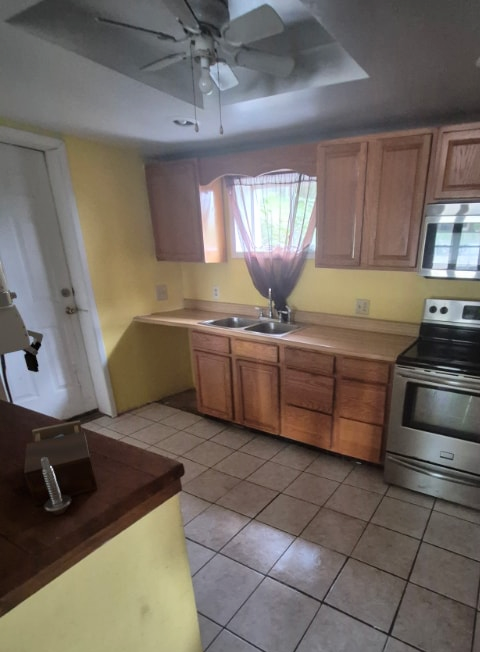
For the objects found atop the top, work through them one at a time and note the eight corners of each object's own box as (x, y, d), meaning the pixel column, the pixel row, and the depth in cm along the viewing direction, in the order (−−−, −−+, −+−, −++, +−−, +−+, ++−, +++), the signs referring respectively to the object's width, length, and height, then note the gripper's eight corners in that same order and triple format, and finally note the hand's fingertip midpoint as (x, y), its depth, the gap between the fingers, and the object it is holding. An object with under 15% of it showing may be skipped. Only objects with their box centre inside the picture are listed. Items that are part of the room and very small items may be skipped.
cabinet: (37, 475, 88) (26, 443, 84) (91, 461, 94) (84, 431, 90) (35, 507, 77) (24, 472, 74) (97, 489, 83) (89, 456, 80)
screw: (54, 522, 73) (41, 513, 76) (78, 508, 77) (65, 500, 79) (36, 466, 68) (23, 459, 70) (63, 454, 72) (49, 448, 74)
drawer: (39, 444, 99) (32, 422, 96) (83, 435, 104) (78, 413, 101) (38, 477, 85) (30, 452, 83) (89, 464, 90) (83, 440, 88)
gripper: (21, 294, 86) (39, 364, 93) (-73, 304, 72) (-43, 385, 79) (42, 297, 83) (59, 369, 90) (-52, 308, 69) (-23, 392, 76)
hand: (11, 377), depth 84 cm, fingers open, 9 cm apart
